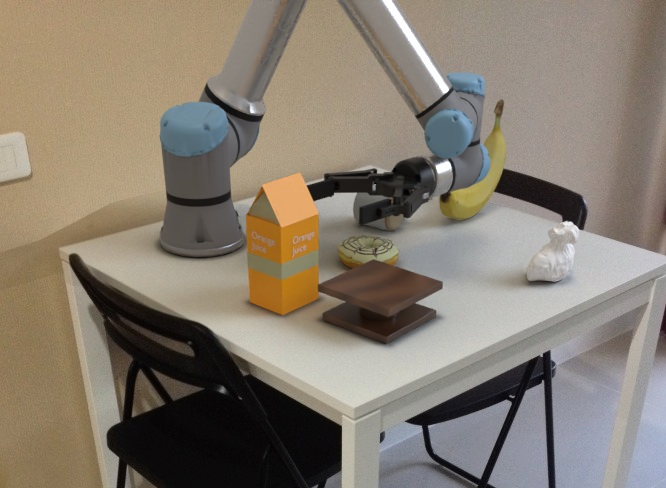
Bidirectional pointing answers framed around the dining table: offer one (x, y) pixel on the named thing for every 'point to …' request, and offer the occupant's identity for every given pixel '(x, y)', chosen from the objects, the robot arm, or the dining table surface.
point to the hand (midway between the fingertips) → (331, 205)
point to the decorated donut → (367, 250)
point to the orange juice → (283, 246)
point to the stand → (379, 300)
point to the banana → (477, 195)
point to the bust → (555, 254)
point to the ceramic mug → (384, 223)
